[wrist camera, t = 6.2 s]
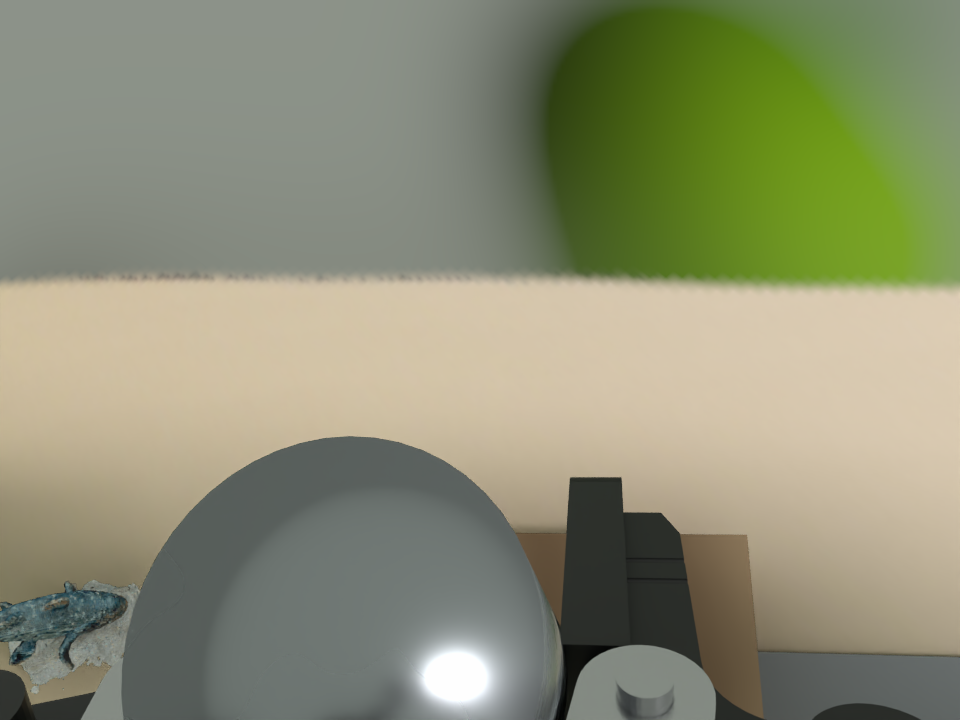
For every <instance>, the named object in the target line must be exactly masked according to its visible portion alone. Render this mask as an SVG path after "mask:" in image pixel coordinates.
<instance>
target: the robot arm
mask: <svg viewBox="0 0 960 720" xmlns="http://www.w3.org/2000/svg"><path fill="white" fill-rule="evenodd" d="M560 633H561V639H562V645H563V650H564V654H565V663H566V672H567V703H566V710H565V718H564V720H766V719H763V718H760V717H757V716H755V715H753V714H750V713H748V712H746V711H744V710H742V709H741V708H739V707H737V706H736V705H734V704H732V703H731V702H730V701H729V700H727V699H726V698H725V697H723V696H722V695H721V694H720V693H719V692H718V691H717V690H716V689H715V688H714V686H713V684H712V682H711V681H710V679H709V677H708V676H707V674H706V673H705V672H704V669H703V666H702V662H701V657H700V651H699V645H698V639H697V633H696V627H695V621H694V615H693V609H692V603H691V597H690V591H689V585H688V579H687V573H686V567H685V563H684V555H683V549H682V543H681V537H680V533H679V532H678V531H677V530H676V529H675V528H674V527H673V525H672V524H671V523H670V522H669V521H668V520H667V519H666V518H665V517H664V516H663V514H662V513H623V498H622V480H621V477H570V485H569V501H568V517H567V533H566V548H565V564H564V580H563V595H562V611H561V627H560ZM122 663H123V657H122V658H121V659H120V660H119V661H118V662H116V663H115V664H114V665H113V666H112V668H111V669H110V670H109V671H108V672H107V674H106V675H105V677H104V678H103V680H102V681H101V683H100V685H99V687H98V689H97V691H96V692H93V693H89V694H84V695H79V696H74V697H69V698H64V699H59V700H54V701H49V702H44V703H40V704H35V705H31V703H30V700H29V697H28V694H27V691H26V688H25V685H24V682H23V681H22V679H21V678H20V677H19V676H17V675H16V674H14V673H12V672H9V671H4V670H0V720H123V710H122V698H121V686H122ZM812 720H921V719H919V718H917V717H915V716H913V715H910V714H908V713H905V712H903V711H900V710H897V709H893V708H890V707H886V706H881V705H875V704H865V703H852V704H843V705H838V706H834V707H831V708H829V709H826V710H824V711H822V712H821V713H819V714H818V715H816V716H815V717H814V718H813V719H812Z"/></svg>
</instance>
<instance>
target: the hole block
mask: <svg viewBox="0 0 960 720" xmlns="http://www.w3.org/2000/svg"><path fill="white" fill-rule="evenodd" d="M515 534H516V535H517V537H518V539H519V541H520V544H521V546H522V548H523V550H524V552H525V554H526V556H527V558H528V560H529V562H530V564H531V566H532V569H533V571H534V573H535V575H536V577H537V579H538V581H539V583H540V585H541V587H542V589H543V591H544V593H545V596H546V598H547V600H548V602H549V604H550V606H551V608H552V610H553V612H554V614H555V616H556V618H557V620H558V623H559V625H560V627H561V611H562V595H563V580H564V564H565V548H566V534H552V533H515ZM680 537H681V543H682V549H683V555H684V563H685V567H686V573H687V579H688V585H689V591H690V597H691V603H692V609H693V615H694V621H695V627H696V633H697V639H698V645H699V651H700V657H701V662H702V666H703V669H704V672H705V673H706V674H707V676H708V677H709V679H710V681H711V682H712V684H713V686H714V688H715V689H716V690H717V691H718V692H719V693H720V694H721V695H722V696H723V697H725V698H726V699H727V700H729V701H730V702H731V703H732V704H734V705H736V706H737V707H739V708H741V709H742V710H744V711H746V712H748V713H750V714H753V715H755V716H757V717H760V718H763V719H764V716H763V705H762V694H761V683H760V672H759V661H758V650H757V639H756V628H755V617H754V606H753V595H752V584H751V573H750V562H749V551H748V540H747V535H693V534H680Z"/></svg>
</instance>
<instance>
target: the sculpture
mask: <svg viewBox="0 0 960 720" xmlns="http://www.w3.org/2000/svg"><path fill="white" fill-rule="evenodd" d="M64 587H65V589H66V590H65V593H57V594H52V595H47V596H43V597H39V598H36V599H32V600H28V601H25V602H21V603H19V604H15V605H12V604H10V603H7V602H0V607H1V608H2V609H3V610H2V611H0V642H8V643H9V647H8V648H9V650H10V656H11V657H10V659H9V660H10V661H9V665H15V666H16V665H22V666H23V669H24V670H25V671H26V672H28V674H30V678H32V679H30V680H33V681H32V684H34V683H35V684H37V685H38V686H33V688H32V690H30V692H31V691H32V692H33V693H35V694H36V693H38V691H39V688H38V687H39V684H40V685H42V684H44V683H45V684H46V682H49V680H50V679H53V678H55V677H57V678H59V679H60V678H62V677H65V676H67V674H69V673H70V671H72V672H74V671H75V669H77V667H79V665H80V666H82V664H83V663H84V662H85V661H86V659H89V660H87V661H88V663H87V666H88V665H89V664H90V663H92V662H93V663H94V665H93V666H95V665H96V666H101V663H102V661H103V662H105V663H106V662H107V664H109V665H110V666H113V665H114V664H115V663H116V662H118V661H119V660H120V659H121V656H122V653H124V649H125V642H126V636H127V632H128V628H129V625H130V621H131V617H132V613H133V609H134V607H135V604H136V601H137V599H138V596H139V593H140V590H139V589H138V586H136V585H135V584H134V583H132V585H131V584H130V585H128V587H121V588H120V587H119V588H117V587H116V586H115V587H113V586H112V585H109V584H108V585H107V584H102V583H101V584H100V583H99V582H98V581H96V580H92V581H90V582H88V584H85V585H84V587H83V588H82V590H77V588H76V584H75V583H74V584H72V583H70V582H69V581H66V582H65V584H64ZM97 656H99V657H100V660H98V658H97ZM63 680H64V678H63ZM63 689H64V688H63Z"/></svg>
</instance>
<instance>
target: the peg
mask: <svg viewBox="0 0 960 720" xmlns="http://www.w3.org/2000/svg"><path fill="white" fill-rule="evenodd" d="M121 698H122V710H123V720H564V718H565V710H566V703H567V672H566V663H565V654H564V650H563V645H562V639H561V633H560V625H559V623H558V620H557V618H556V616H555V614H554V612H553V610H552V608H551V606H550V604H549V602H548V600H547V598H546V596H545V593H544V591H543V589H542V587H541V585H540V583H539V581H538V579H537V577H536V575H535V573H534V571H533V569H532V566H531V564H530V562H529V560H528V558H527V556H526V554H525V552H524V550H523V548H522V546H521V544H520V541H519V539H518V537H517V535H516V534H515V532H514V531H513V529H512V528H511V526H510V524H509V523H508V521H507V520H506V518H505V517H504V515H503V514H502V512H501V511H500V510H499V509H498V507H497V506H496V505H495V504H494V503H493V502H492V500H491V499H490V498H489V497H488V496H487V494H486V493H485V492H484V491H483V490H481V489H480V488H479V487H478V486H477V485H476V484H475V483H474V482H473V481H471V480H470V479H469V478H468V477H467V476H466V475H464V474H463V473H461V472H460V471H458V470H457V469H456V468H454V467H453V466H451V465H450V464H448V463H447V462H445V461H443V460H441V459H439V458H437V457H435V456H433V455H431V454H429V453H427V452H425V451H423V450H420V449H417V448H414V447H411V446H408V445H405V444H402V443H399V442H394V441H389V440H384V439H379V438H371V437H353V436H348V437H334V438H323V439H318V440H313V441H308V442H303V443H299V444H296V445H293V446H290V447H287V448H284V449H281V450H278V451H275V452H273V453H271V454H269V455H267V456H265V457H263V458H261V459H258V460H256V461H254V462H252V463H251V464H249V465H247V466H246V467H244V468H242V469H241V470H239V471H238V472H236V473H234V474H233V475H231V476H230V477H228V478H227V479H226V480H225V481H223V482H222V483H221V484H219V485H218V486H217V487H216V488H214V489H213V490H212V491H211V492H209V493H208V494H207V495H206V496H205V497H204V498H203V499H202V500H201V501H200V502H199V503H198V504H197V505H196V506H195V507H194V508H193V509H192V510H191V511H190V512H189V513H188V514H187V516H186V517H185V518H184V519H183V521H182V522H181V523H180V524H179V525H178V527H177V528H176V529H175V530H174V531H173V533H172V534H171V536H170V537H169V539H168V540H167V542H166V543H165V545H164V546H163V548H162V549H161V551H160V553H159V554H158V556H157V557H156V559H155V561H154V563H153V565H152V567H151V569H150V571H149V573H148V575H147V577H146V579H145V581H144V583H143V586H142V588H141V591H140V593H139V596H138V599H137V601H136V604H135V607H134V609H133V613H132V617H131V621H130V625H129V628H128V632H127V636H126V642H125V649H124V656H123V663H122V686H121Z"/></svg>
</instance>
